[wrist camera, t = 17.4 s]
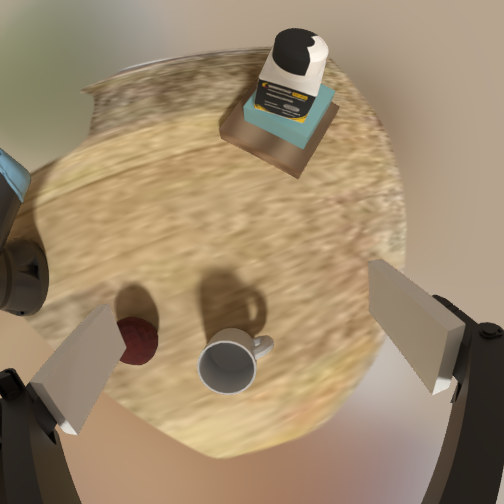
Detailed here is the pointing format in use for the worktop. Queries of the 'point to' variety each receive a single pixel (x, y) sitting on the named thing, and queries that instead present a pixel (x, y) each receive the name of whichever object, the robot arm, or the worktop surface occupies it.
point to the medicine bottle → (292, 74)
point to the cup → (231, 360)
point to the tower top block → (287, 127)
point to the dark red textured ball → (137, 340)
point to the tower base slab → (272, 138)
